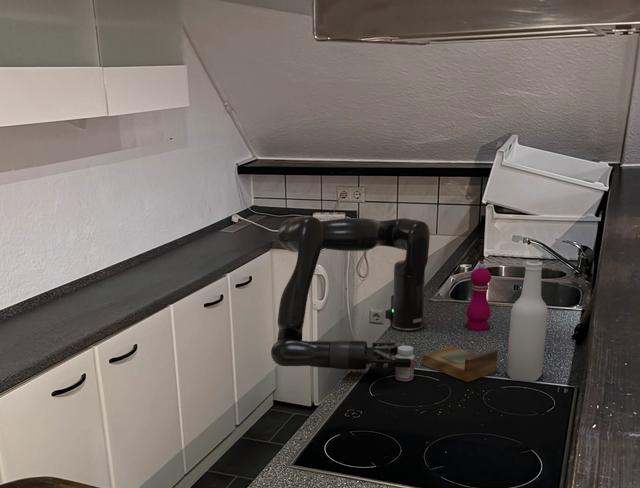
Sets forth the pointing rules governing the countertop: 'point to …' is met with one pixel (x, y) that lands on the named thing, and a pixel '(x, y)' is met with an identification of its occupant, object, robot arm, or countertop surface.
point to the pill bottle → (405, 372)
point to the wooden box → (461, 363)
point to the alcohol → (528, 328)
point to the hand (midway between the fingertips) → (411, 357)
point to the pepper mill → (479, 300)
